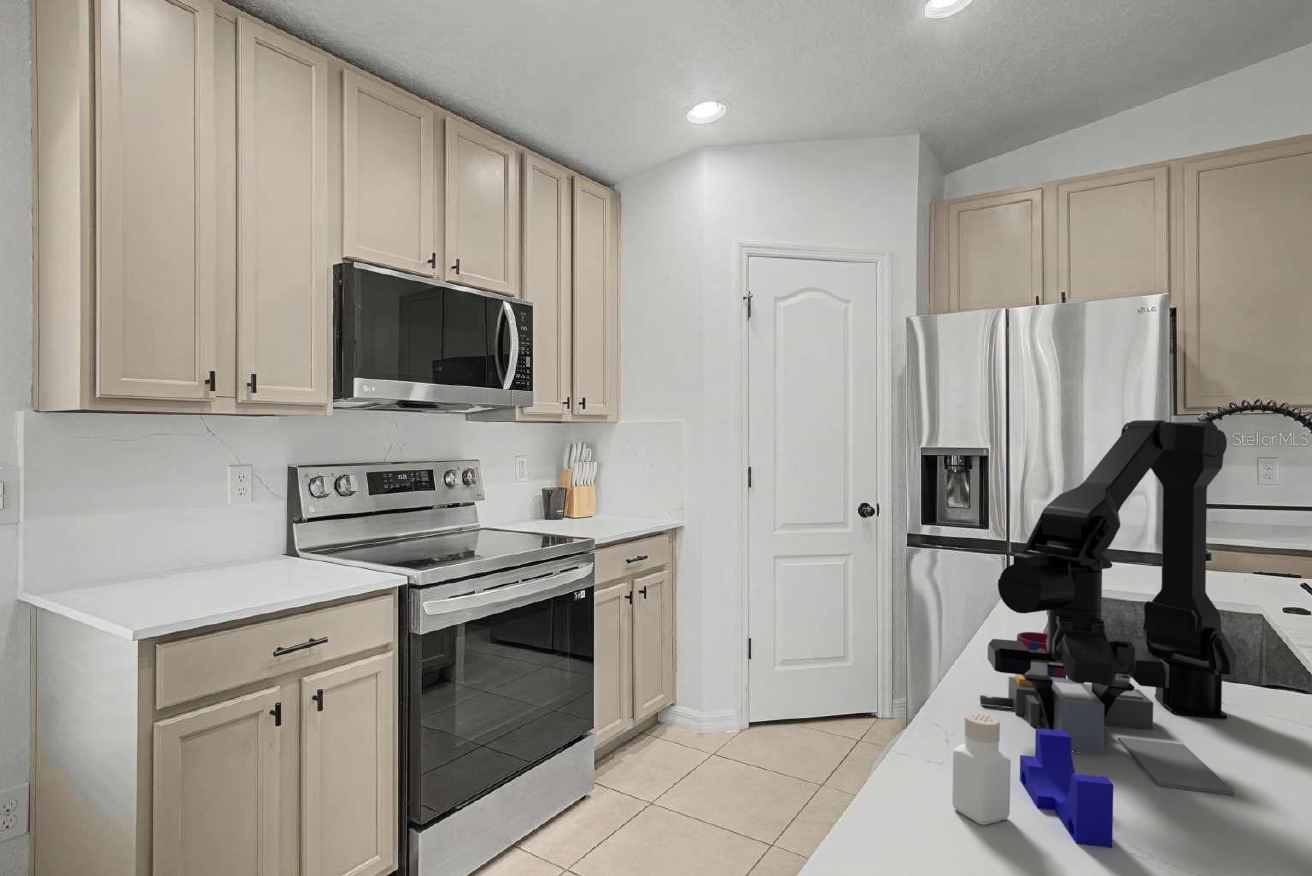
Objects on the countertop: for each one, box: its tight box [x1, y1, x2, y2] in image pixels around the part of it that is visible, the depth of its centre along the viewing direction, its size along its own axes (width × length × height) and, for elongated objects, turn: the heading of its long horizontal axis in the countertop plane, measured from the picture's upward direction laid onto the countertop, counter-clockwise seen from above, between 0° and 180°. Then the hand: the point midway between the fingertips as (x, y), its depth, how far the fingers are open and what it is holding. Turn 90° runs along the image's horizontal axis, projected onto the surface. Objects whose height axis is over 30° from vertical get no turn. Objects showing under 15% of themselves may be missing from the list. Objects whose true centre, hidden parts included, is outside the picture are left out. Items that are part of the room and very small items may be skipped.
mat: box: [1117, 736, 1236, 796], centre depth 82 cm, size 7×12×1 cm, turn 165°
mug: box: [1016, 631, 1067, 679], centre depth 108 cm, size 7×10×7 cm
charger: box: [1041, 677, 1105, 757], centre depth 89 cm, size 4×9×6 cm, turn 165°
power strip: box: [979, 674, 1154, 731], centre depth 95 cm, size 20×8×4 cm, turn 75°
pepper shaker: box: [951, 711, 1011, 826], centre depth 70 cm, size 4×4×10 cm
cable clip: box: [1019, 728, 1114, 849], centre depth 71 cm, size 12×4×6 cm, turn 168°
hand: (1072, 731), depth 88 cm, fingers closed on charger, 4 cm apart
